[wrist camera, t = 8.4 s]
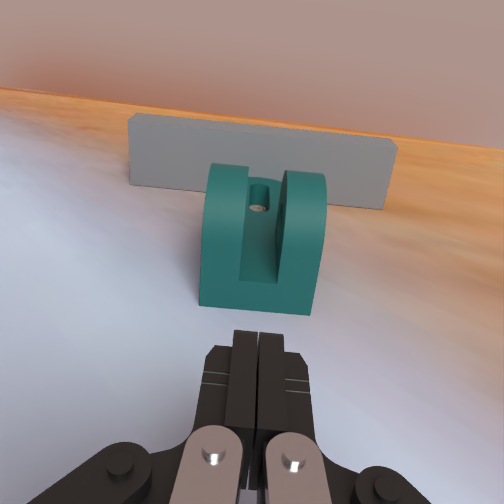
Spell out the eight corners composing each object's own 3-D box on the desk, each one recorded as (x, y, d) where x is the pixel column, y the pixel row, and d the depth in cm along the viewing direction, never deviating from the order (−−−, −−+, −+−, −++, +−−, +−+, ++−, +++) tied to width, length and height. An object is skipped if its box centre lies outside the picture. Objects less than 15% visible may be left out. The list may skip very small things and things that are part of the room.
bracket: (309, 318, 28) (332, 198, 24) (198, 308, 28) (204, 186, 24) (293, 203, 44) (305, 119, 40) (222, 196, 44) (227, 112, 40)
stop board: (130, 184, 43) (127, 120, 40) (138, 173, 46) (136, 113, 43) (382, 209, 44) (397, 147, 41) (376, 197, 46) (390, 138, 43)
